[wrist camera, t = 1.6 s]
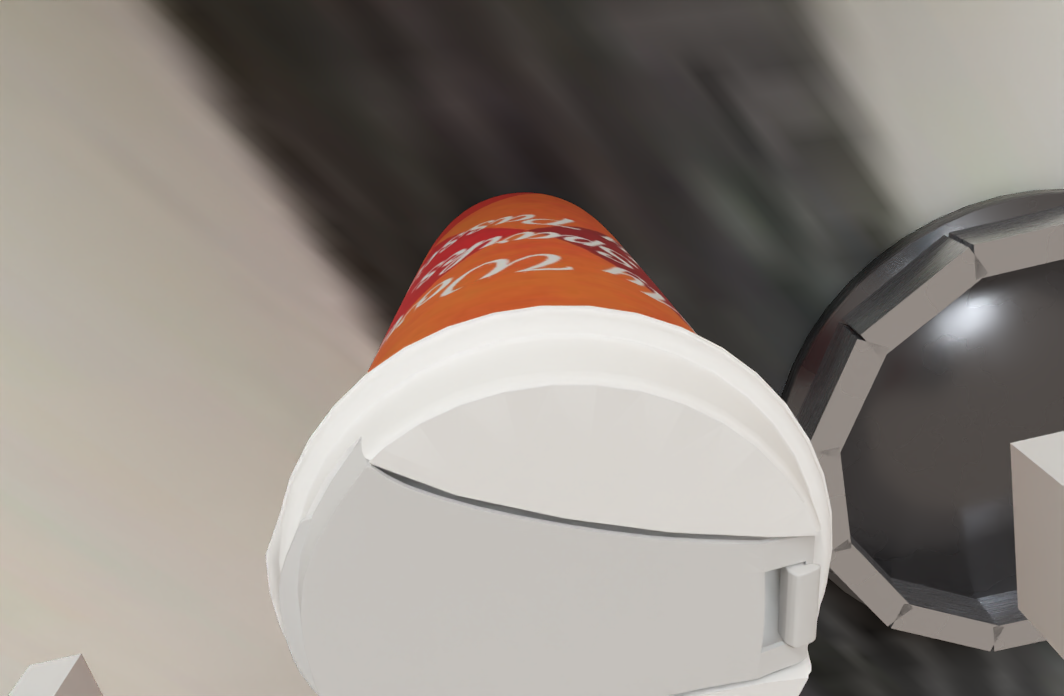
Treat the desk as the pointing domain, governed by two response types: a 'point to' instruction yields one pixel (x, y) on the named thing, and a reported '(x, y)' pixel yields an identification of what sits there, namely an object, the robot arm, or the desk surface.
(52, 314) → the desk surface
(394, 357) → the coffee cup
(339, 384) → the desk surface
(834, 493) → the ring seat
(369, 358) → the desk surface
